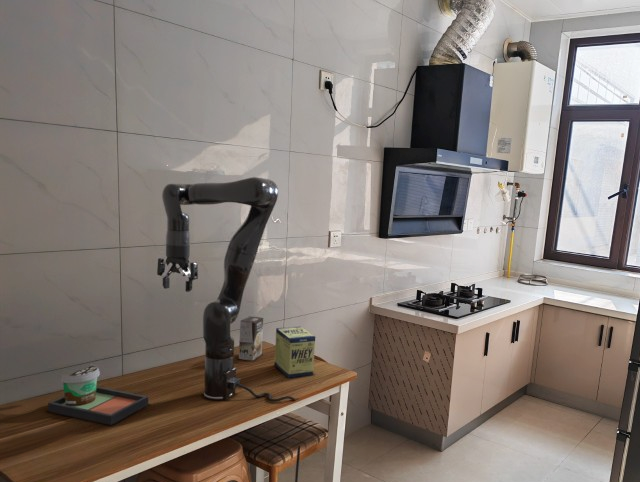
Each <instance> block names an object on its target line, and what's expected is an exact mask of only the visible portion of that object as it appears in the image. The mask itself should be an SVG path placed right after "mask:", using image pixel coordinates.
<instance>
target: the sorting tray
mask: <svg viewBox="0 0 640 482" xmlns="http://www.w3.org/2000/svg"><path fill="white" fill-rule="evenodd" d="M147 406H149V396H147V395H142V394H138V393H131V392H127V391H122V390H117V389H113V388H107V387H104V386H103V387H101V386H96V398H95V400H94V401H93V402H91V403H89V404H86V405H81V406H68V405H66V403H65V395H63V396H60V397H59V398H56V399H54V400H51V401H49V402H48V403H47V410H48V413H53V414H56V415H57V414H58V415H61V416H62V415H63V416H66V417H70V418H71V417H72V418H76V419H79V420H84V421H90V422H95V423H99V424H102V425H103V424H104V425H107V426H108V425H109V426H112V425H114V424H116V423H118V422H120V421H121V420H123V419H125V418H127V417H129V416H131V415H132V414H135V413H136V412H138V411H140V410H142V409H143V408H145V407H147Z"/></svg>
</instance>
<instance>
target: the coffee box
mask: <svg viewBox="0 0 640 482" xmlns="http://www.w3.org/2000/svg"><path fill="white" fill-rule="evenodd" d="M239 322H240V323H239V341H238V342H239V346H238V359H239V360H246V361H251V362H252V361H255V360H256V359H257V358H259V357H260V356H261V355H262V353H263V351H262V349H263V332H264V317H259V316H251V315H250V316H247V317H245V318H243V319H241V320H240V321H239Z"/></svg>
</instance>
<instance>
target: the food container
mask: <svg viewBox="0 0 640 482" xmlns="http://www.w3.org/2000/svg"><path fill="white" fill-rule="evenodd" d="M100 374H101V372H100V369H99V367H98V366H97V365H96V364H94V363H90V365H89V366H88V367H87V368H84V369H79V370H76V371H75V372H73V373H71V374H70V375H64V374H63V375H62V376H61V381H60V382H61V383H62V384H63V392H64V395H63V396H65V403H66V405H68V406H81V405H86V404H89V403H91V402H93V401H94V400H95V398H96V386H97V385H98V377H99V376H100Z"/></svg>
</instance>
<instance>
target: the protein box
mask: <svg viewBox="0 0 640 482" xmlns="http://www.w3.org/2000/svg"><path fill="white" fill-rule="evenodd" d="M315 349H316V336H315V335H314V334H312V333H311V332H309V331H308V330H307V329H305V328H303V327H302V326H288V327H276V329H275V346H274V362H273V363H274V366H275V367H276V368H277V369H278V370H279V371H280V372H281V373H283V375H285V377H287V378H288V379H289V378H295V377H296V378H297V377H305V376H313V375H314V365H315V353H316V352H315V351H316V350H315Z"/></svg>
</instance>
